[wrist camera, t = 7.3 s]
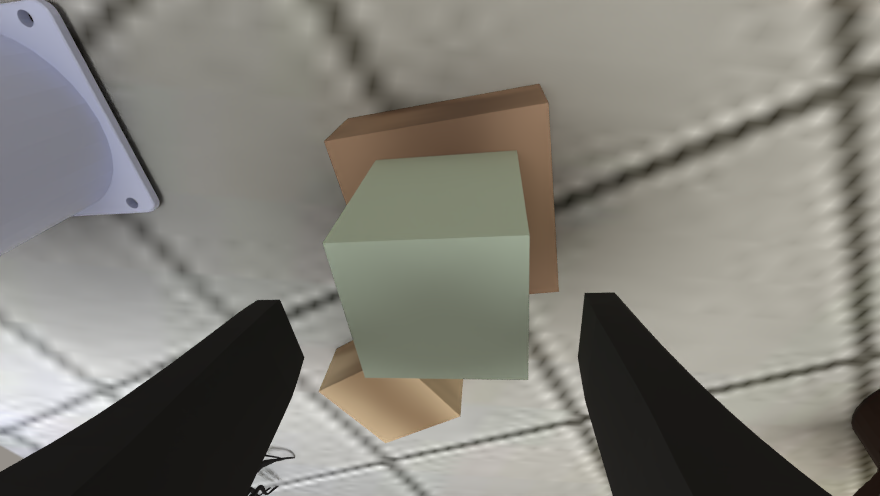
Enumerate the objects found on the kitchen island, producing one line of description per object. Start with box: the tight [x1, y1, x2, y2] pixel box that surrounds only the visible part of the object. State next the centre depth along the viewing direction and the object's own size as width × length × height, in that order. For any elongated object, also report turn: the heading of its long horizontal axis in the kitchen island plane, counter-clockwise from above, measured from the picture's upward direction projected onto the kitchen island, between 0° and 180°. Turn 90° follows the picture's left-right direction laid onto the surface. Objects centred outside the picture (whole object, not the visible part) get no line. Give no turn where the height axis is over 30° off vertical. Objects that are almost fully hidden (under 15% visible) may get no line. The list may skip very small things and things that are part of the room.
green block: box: [323, 150, 530, 380], centre depth 12 cm, size 4×4×5 cm
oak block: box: [319, 340, 463, 443], centre depth 21 cm, size 5×5×3 cm
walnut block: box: [324, 84, 559, 294], centre depth 15 cm, size 7×7×3 cm
